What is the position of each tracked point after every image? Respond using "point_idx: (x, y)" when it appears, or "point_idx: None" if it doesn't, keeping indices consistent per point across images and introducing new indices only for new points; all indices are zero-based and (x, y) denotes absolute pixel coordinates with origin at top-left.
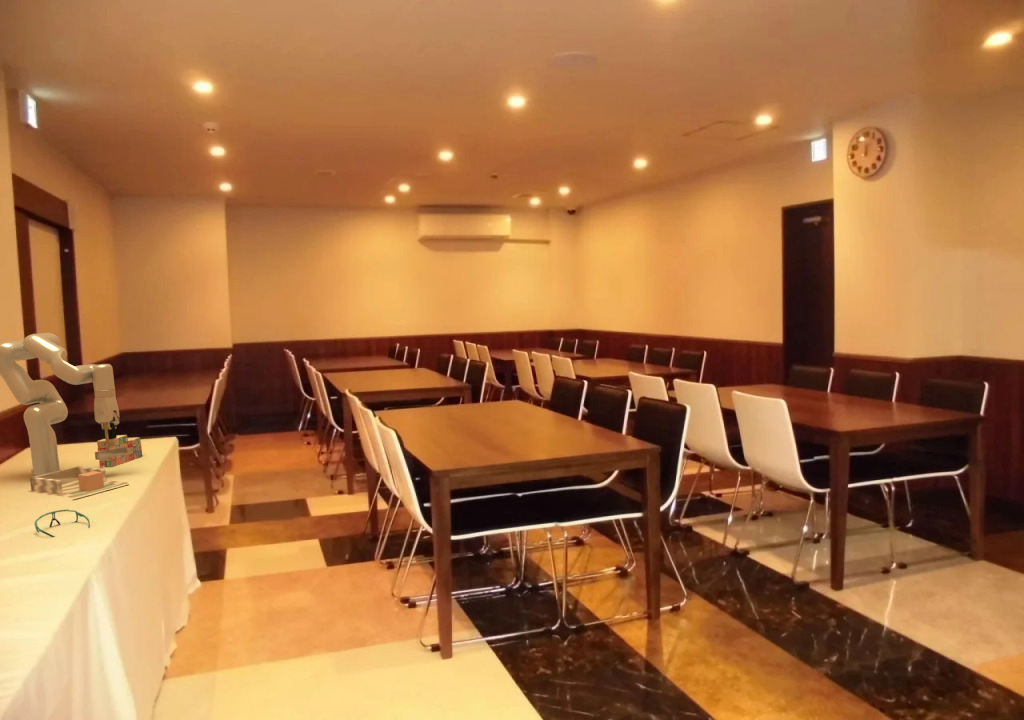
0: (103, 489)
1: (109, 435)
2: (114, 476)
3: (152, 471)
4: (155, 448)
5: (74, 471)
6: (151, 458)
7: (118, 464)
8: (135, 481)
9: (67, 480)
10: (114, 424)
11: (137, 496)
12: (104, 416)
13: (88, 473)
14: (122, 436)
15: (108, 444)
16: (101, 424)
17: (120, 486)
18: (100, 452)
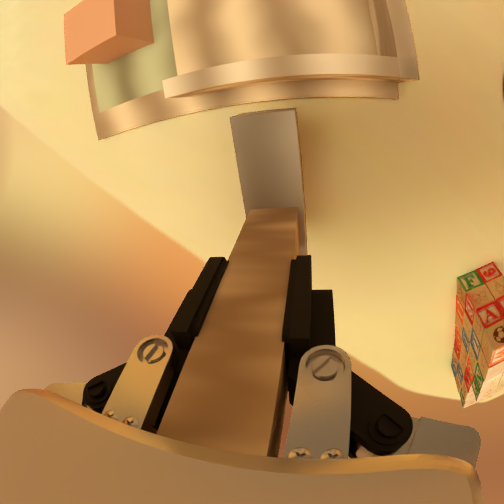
0: None
1: (198, 283)
2: (311, 185)
3: None
4: None
5: (390, 47)
6: (410, 366)
7: (457, 301)
8: (136, 174)
9: (374, 20)
10: (79, 386)
11: (13, 115)
12: (29, 496)
13: (95, 17)
14: (480, 391)
15: (257, 230)
16: (345, 421)
17: (95, 109)
18: (231, 127)
